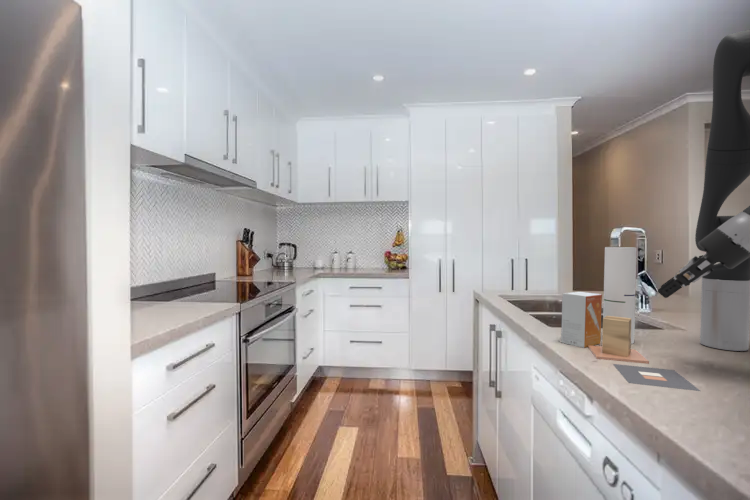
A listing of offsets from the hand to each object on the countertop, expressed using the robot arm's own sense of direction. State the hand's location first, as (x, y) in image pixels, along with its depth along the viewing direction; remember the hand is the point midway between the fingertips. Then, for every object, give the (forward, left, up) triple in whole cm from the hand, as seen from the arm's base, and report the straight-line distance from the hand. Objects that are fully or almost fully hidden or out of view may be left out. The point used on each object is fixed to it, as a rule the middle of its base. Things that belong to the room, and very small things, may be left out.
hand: (662, 292), depth 84 cm
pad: (-3, -8, -15) cm, 18 cm away
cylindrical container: (-19, -4, -16) cm, 25 cm away
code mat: (+11, -5, -15) cm, 20 cm away
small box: (-12, -14, -16) cm, 24 cm away
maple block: (-3, -8, -15) cm, 17 cm away
